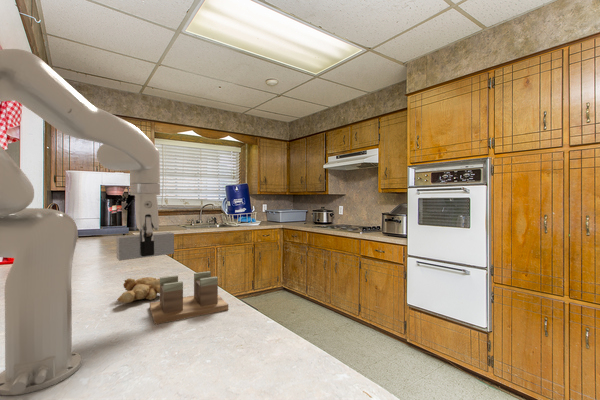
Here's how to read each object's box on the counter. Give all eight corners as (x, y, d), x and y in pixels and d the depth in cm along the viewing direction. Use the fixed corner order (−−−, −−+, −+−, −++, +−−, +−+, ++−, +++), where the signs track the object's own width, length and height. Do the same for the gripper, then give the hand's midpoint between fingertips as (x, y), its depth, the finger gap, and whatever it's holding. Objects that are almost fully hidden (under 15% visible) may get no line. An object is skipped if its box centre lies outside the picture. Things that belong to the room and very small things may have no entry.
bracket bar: (174, 253, 87) (173, 233, 87) (119, 260, 78) (118, 238, 78) (170, 251, 90) (169, 231, 90) (116, 258, 81) (116, 236, 81)
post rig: (228, 309, 89) (228, 278, 89) (154, 324, 78) (154, 288, 78) (215, 296, 101) (215, 268, 101) (149, 307, 90) (149, 276, 90)
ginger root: (162, 283, 111) (163, 263, 110) (172, 305, 99) (173, 283, 97) (113, 292, 102) (113, 271, 100) (118, 318, 90) (117, 294, 88)
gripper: (165, 190, 79) (166, 257, 79) (155, 190, 93) (156, 247, 93) (132, 190, 75) (134, 261, 75) (127, 190, 89) (129, 250, 89)
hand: (146, 253), depth 84 cm, fingers closed on bracket bar, 4 cm apart
